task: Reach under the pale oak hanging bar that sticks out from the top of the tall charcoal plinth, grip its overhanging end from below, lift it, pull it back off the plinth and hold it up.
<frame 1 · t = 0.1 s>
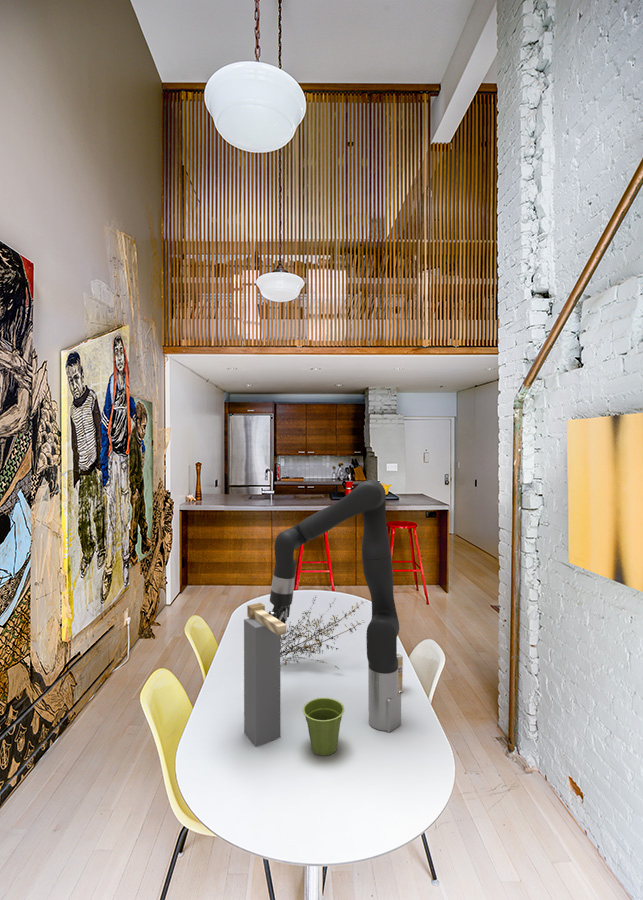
hand: (276, 636, 153), 22 cm above the table, tool pointing down, fingers open, 8 cm apart
hanging bar: (267, 624, 134), point 34 cm above the table, touching plinth
plant pot: (323, 748, 130), on the table
supplement box: (389, 692, 161), on the table
plinth: (262, 735, 136), on the table
dried plant: (322, 663, 183), on the table
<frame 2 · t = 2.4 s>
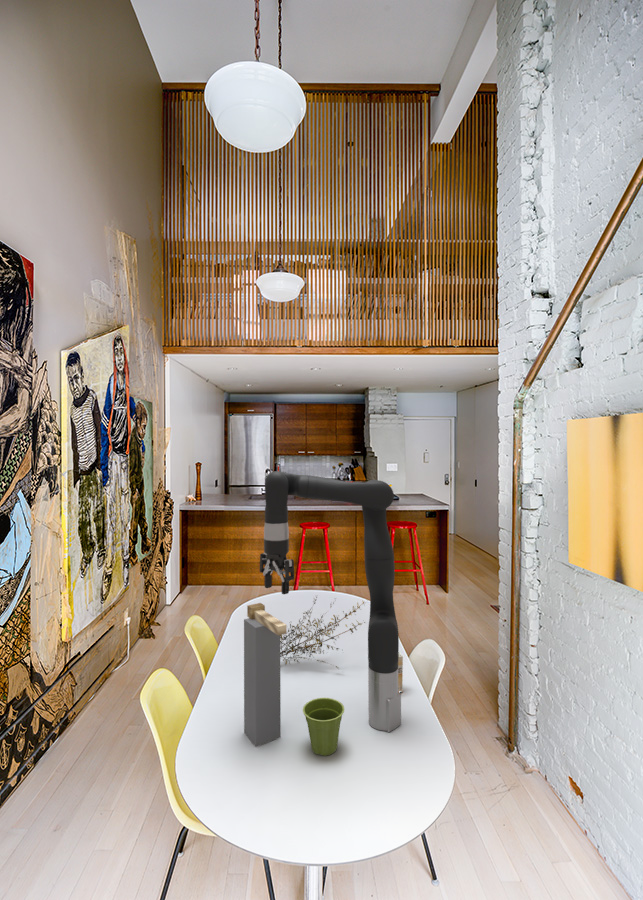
hand: (276, 590, 139), 42 cm above the table, tool pointing down, fingers open, 8 cm apart
nothing on the table moved.
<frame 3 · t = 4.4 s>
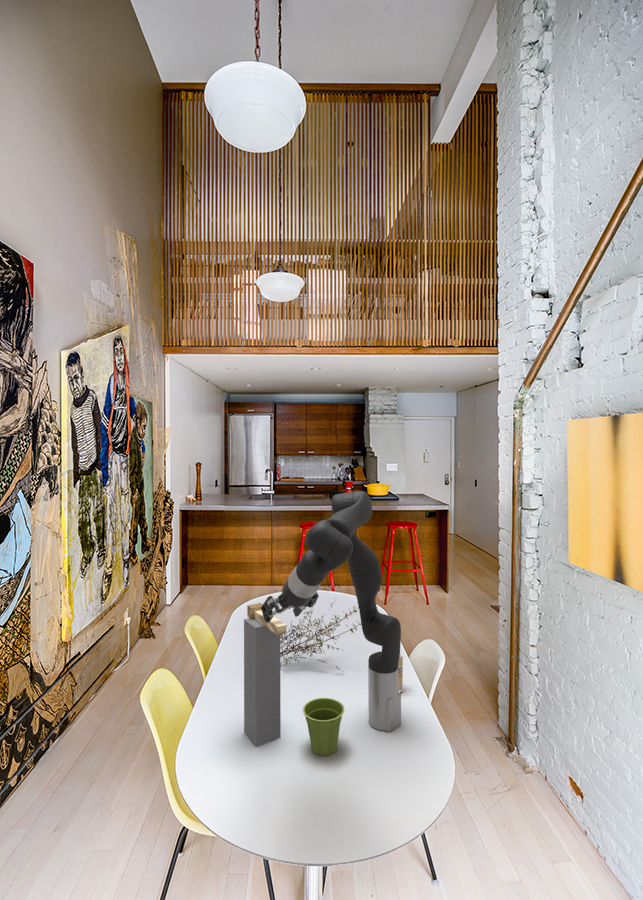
hand: (281, 616, 121), 41 cm above the table, tool tilted 45°, fingers open, 8 cm apart
nothing on the table moved.
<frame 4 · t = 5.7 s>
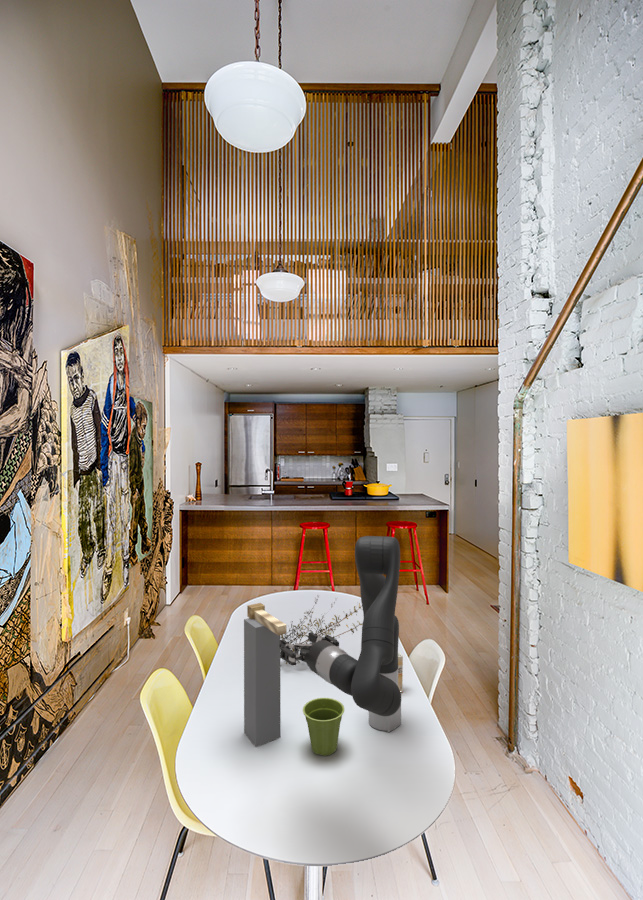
hand: (295, 639, 120), 35 cm above the table, tool horizontal, fingers open, 8 cm apart
nothing on the table moved.
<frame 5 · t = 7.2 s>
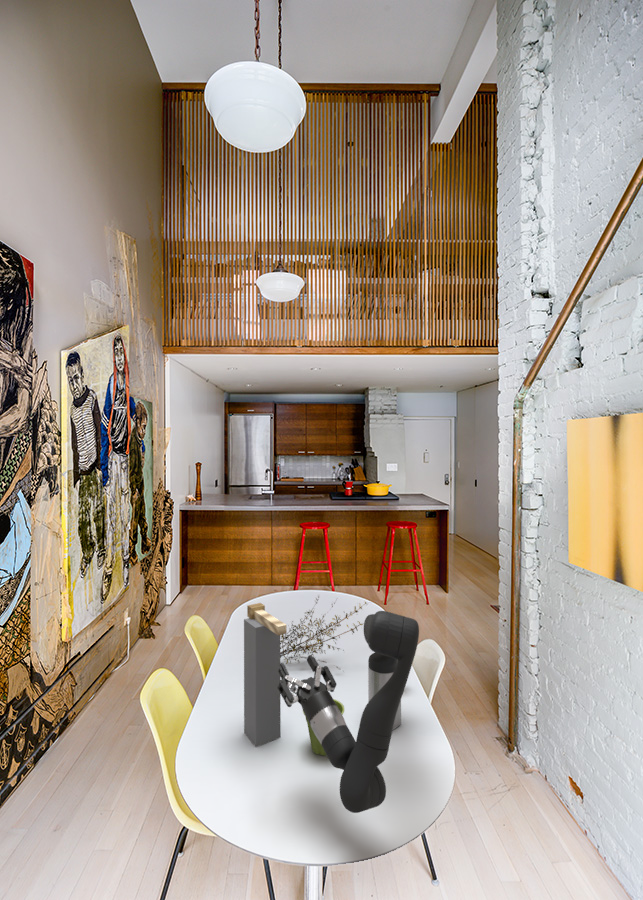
hand: (294, 661, 120), 29 cm above the table, tool pointing upward, fingers open, 8 cm apart
nothing on the table moved.
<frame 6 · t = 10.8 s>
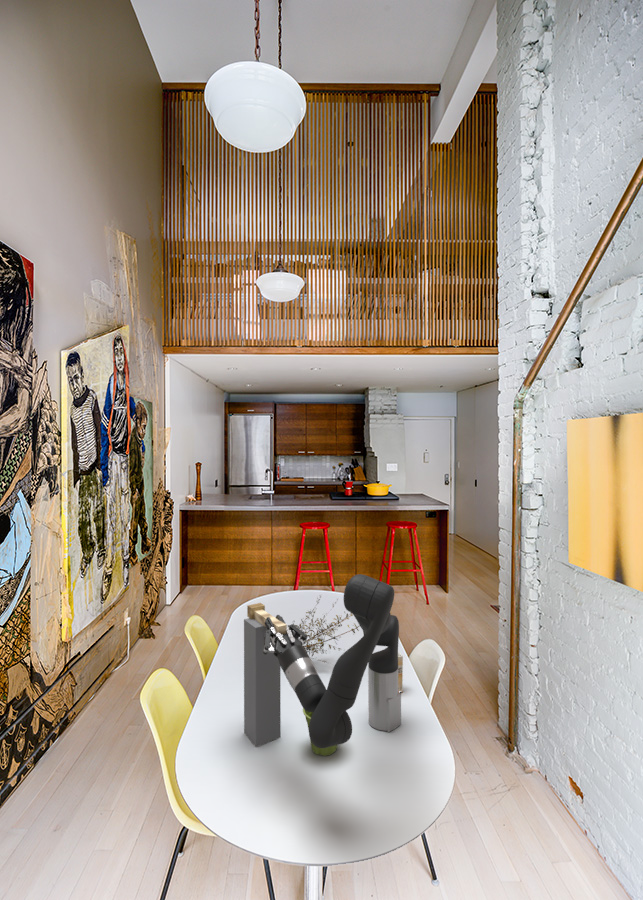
hand: (272, 618, 131), 37 cm above the table, tool pointing upward, fingers closed on hanging bar, 2 cm apart
hanging bar: (267, 624, 134), point 34 cm above the table, touching gripper
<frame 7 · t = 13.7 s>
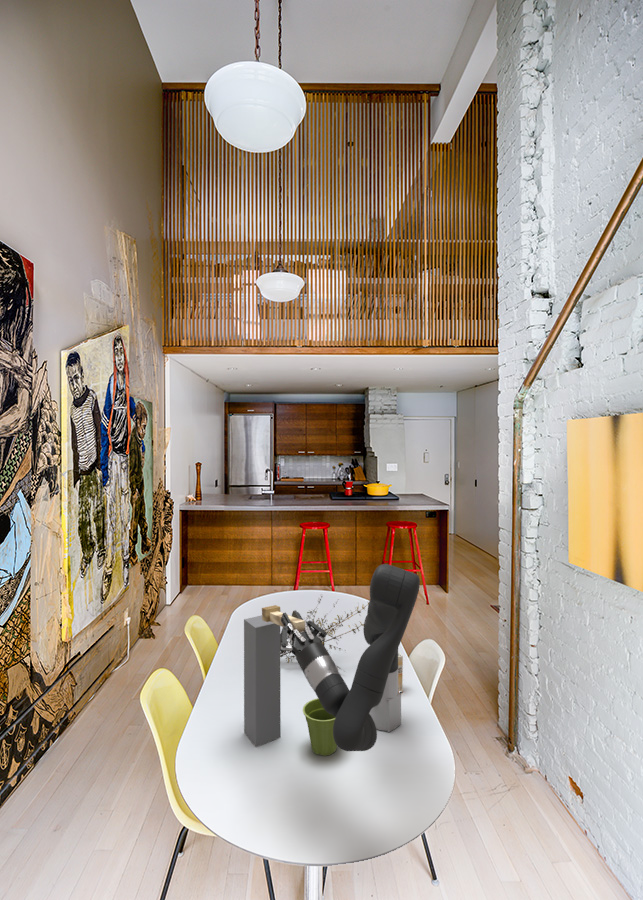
hand: (288, 614, 123), 41 cm above the table, tool pointing upward, fingers closed on hanging bar, 2 cm apart
hanging bar: (284, 624, 125), point 37 cm above the table, tilted 7°, touching gripper
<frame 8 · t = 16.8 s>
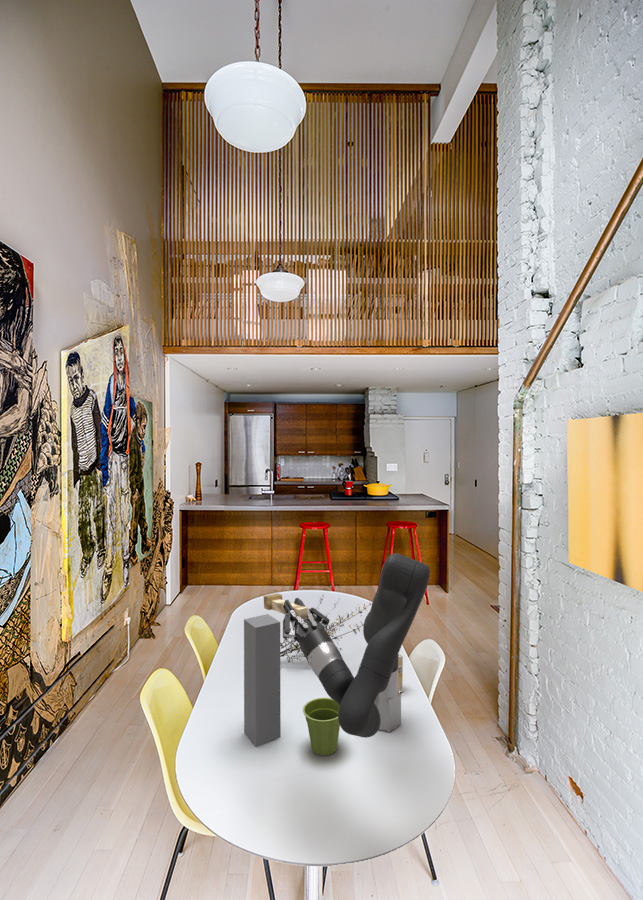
hand: (290, 601, 122), 44 cm above the table, tool pointing upward, fingers closed on hanging bar, 2 cm apart
hanging bar: (286, 612, 124), point 41 cm above the table, tilted 7°, touching gripper
at the end: the gripper is holding hanging bar; hanging bar point 40.8 cm above the table; hanging bar moved 13.1 cm from its start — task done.
